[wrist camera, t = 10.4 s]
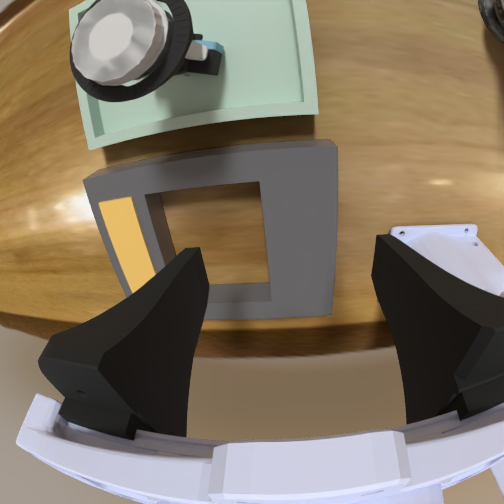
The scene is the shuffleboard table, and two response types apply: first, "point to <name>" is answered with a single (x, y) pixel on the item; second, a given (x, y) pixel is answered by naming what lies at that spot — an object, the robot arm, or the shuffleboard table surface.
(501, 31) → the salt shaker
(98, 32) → the push button
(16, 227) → the shuffleboard table surface
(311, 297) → the panel
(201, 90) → the parts tray
